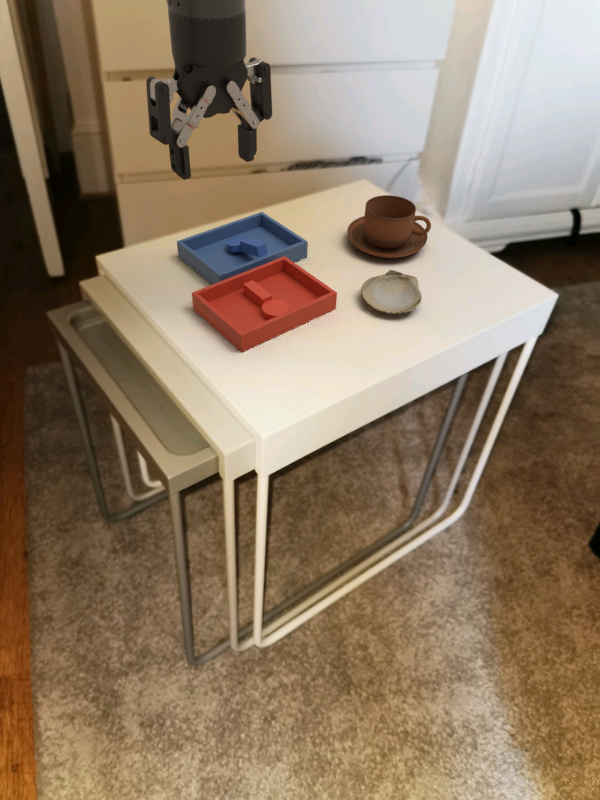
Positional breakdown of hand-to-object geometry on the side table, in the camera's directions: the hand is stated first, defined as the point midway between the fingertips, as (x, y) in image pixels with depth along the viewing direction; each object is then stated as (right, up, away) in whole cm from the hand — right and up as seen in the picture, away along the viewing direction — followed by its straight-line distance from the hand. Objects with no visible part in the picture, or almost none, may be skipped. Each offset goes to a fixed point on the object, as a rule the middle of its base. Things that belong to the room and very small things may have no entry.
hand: (215, 167), depth 73 cm
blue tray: (+1, -6, +21) cm, 21 cm away
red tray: (+5, -15, +11) cm, 19 cm away
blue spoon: (+2, -5, +19) cm, 20 cm away
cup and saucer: (+23, -3, +24) cm, 33 cm away
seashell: (+22, -14, +13) cm, 29 cm away
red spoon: (+5, -14, +11) cm, 19 cm away
